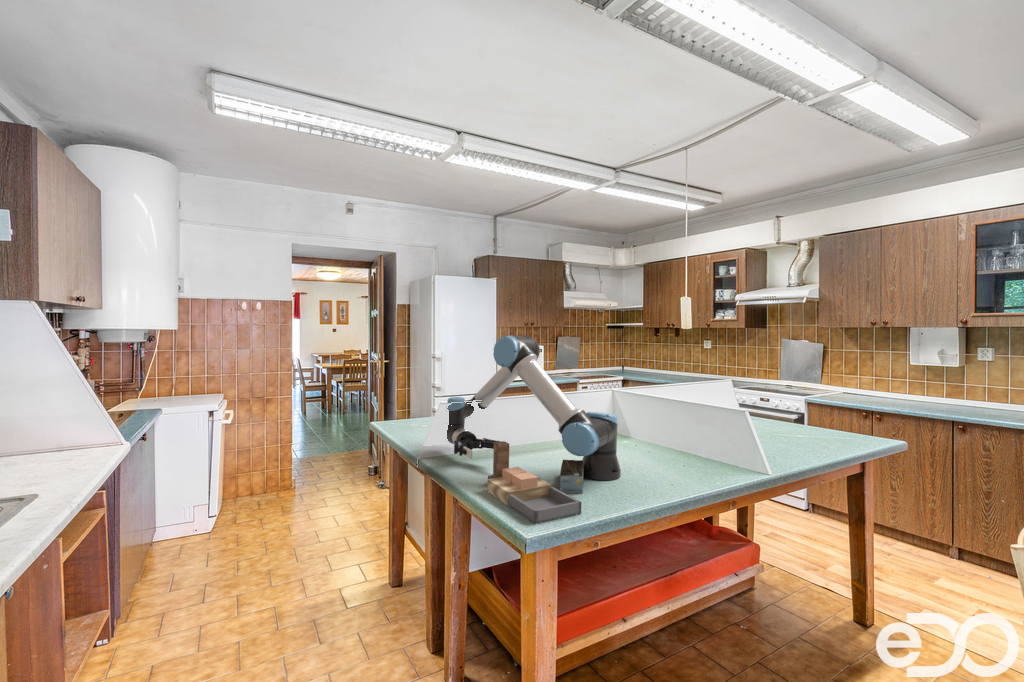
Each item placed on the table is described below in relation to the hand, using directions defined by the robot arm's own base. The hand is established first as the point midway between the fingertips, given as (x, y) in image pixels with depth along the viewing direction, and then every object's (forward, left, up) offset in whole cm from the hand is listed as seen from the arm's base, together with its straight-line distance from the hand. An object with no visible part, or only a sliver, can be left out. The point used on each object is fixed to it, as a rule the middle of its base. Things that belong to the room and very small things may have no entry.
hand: (488, 452), depth 173 cm
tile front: (-15, +20, -4) cm, 26 cm away
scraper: (-6, +8, -8) cm, 13 cm away
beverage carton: (-31, +4, -9) cm, 32 cm away
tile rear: (-12, +15, -4) cm, 20 cm away
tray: (-22, +30, -8) cm, 38 cm away
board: (-13, +18, -8) cm, 24 cm away
